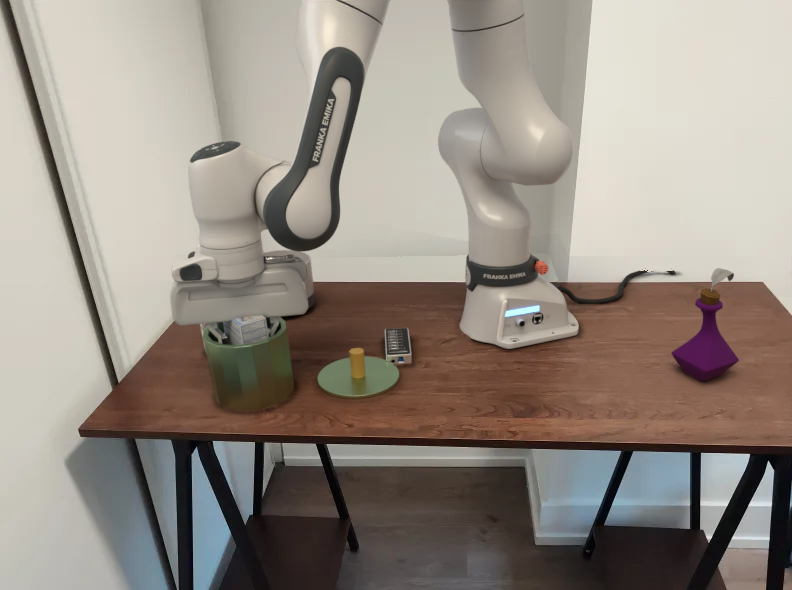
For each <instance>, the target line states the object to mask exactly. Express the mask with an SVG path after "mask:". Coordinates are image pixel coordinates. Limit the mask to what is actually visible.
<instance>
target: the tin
mask: <svg viewBox="0 0 792 590" xmlns="http://www.w3.org/2000/svg"><path fill="white" fill-rule="evenodd" d="M266 322H267V328H268V329H270V327H271V324H272V323H270V317H269V318H266ZM287 327H288V326H287V321H286V320H284V319H283V317H279V325H278V327H277V329H276V331H275V335H273V336H271V337H269V338H267V339H266V340H263V341H259V342H255V343H252V344H242V345H229V344H221V343H219V341H218V338H216V337H215V336H214V334H213V333H212V332H211V331H210V330H209V329H208V327H207V328H205V329H204V333H203V338H202V341H203V340H204V343H203V346H204V345H205V348H204V351H205V350H206V352H205V354H206V360H207V366H208V369H209V370H208V371H209V374H210V380H211V385H212V390H213V394H214V399H215V400H216V403H217V404H218V406H219V407H221V408H223V409H224V407H225V408H228V409H230V410H235V411H254V410H262V409H266V408H268V407H271V406H275V405H278V404H279V403H281V402H282V401H284V400H286V399H287V398H289V397H290V396H291V394H292V393H293V391H294V390H295V382H294V381H295V379H294V373H293V364H292V358H291V350H290V349H291V348H290V343H289V335H288V328H287ZM218 328H219V329H220V330H221V331H222V332H223V333H225V331H224V326H223V322H219V323H218Z"/></svg>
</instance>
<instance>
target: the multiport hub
mask: <svg viewBox="0 0 792 590" xmlns="http://www.w3.org/2000/svg"><path fill="white" fill-rule="evenodd" d="M384 345H385V347H384V348H385V360H386V361H389V362H391V363H392V364H394V365H406V364H407V365H409V364H412V363H413V359H412V358H413V357H412V356H413V355H412V346H411V338H410V329H409V328H408V327H397V328H396V327H395V328H385V329H384Z"/></svg>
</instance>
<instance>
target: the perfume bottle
mask: <svg viewBox="0 0 792 590" xmlns="http://www.w3.org/2000/svg"><path fill="white" fill-rule="evenodd" d="M734 277H735V273H734V272H732V271H730V270H728V269H724V268H719V267H717V268H716V269H714V270H713V272H712V274H711V276H710V279H711V286H710V287H711V288H703V289H700V297H699V298H697V299H695V304H694V305H695V306H696V308H698V309H700V311H701V313H702V324H701V327H700V329H699V330H698V331H697V333H696V334H695V335H693V337H692V338H690V339H689V340H688V341H686V342H685V343H683V344H681V345H680V346H679V347H677V348H676V349H674V350H673V351H671V354H670V355H672V358H673V359H674V360H675V361H676V363H677V364H678V367H679V368H680V369H681V371H682V372H683V373H685V374H687V375H688V376H690V377H692V378H694V379H695V380H697V381H700V382H701V383H704V382H706V381H709V380H712V379H715V378H718V377H720V376H721V375H723V374H724V373H726V372H727V371H729V370H730V369H731V368H732V367H733V366H734V365H736V364H737V363H738V362H739V361H740V359H739V358H738V356H737V355H736V353H735V352H734V351H733V350H732V348H731V347H730V346H729V344H728V342H727V341H726V340H725V338H724V337H723V336H722V334H721V332H720V329H719V327H718V323H717V317H716V316H717V313H718V311H720V310H722V309H723V308H724V302H722V301H721V300H720V298H721V294H720V293H719V292H718V291H717V290H716V289H714V286H716V285H717V284H719V283H720V282H722V281H724V280H725V279H726V278H727V280H728V282H731V281H732V280H733V279H734Z"/></svg>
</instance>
